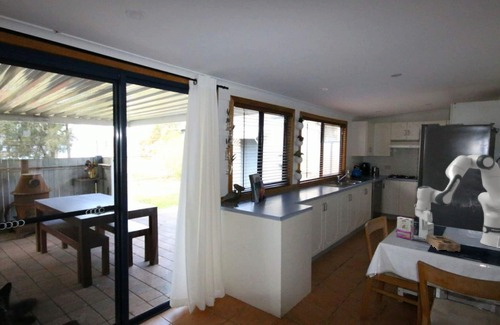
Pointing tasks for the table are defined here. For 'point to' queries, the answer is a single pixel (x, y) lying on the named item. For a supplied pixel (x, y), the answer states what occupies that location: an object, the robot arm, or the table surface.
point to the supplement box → (427, 231)
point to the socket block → (442, 243)
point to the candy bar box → (405, 228)
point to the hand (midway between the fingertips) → (423, 224)
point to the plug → (421, 225)
